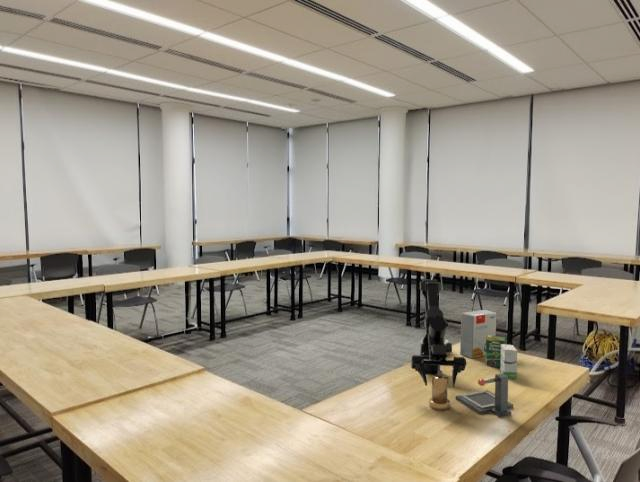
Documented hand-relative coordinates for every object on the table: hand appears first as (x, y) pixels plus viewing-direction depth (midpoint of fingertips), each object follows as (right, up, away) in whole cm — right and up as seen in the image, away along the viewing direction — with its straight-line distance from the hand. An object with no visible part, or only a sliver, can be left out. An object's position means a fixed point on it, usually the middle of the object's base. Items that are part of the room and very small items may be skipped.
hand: (439, 385), depth 154 cm
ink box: (+36, -5, +29) cm, 47 cm away
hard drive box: (+33, -3, +56) cm, 65 cm away
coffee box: (+35, -5, +40) cm, 53 cm away
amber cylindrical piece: (0, -7, +1) cm, 8 cm away
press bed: (+16, -7, +1) cm, 18 cm away
